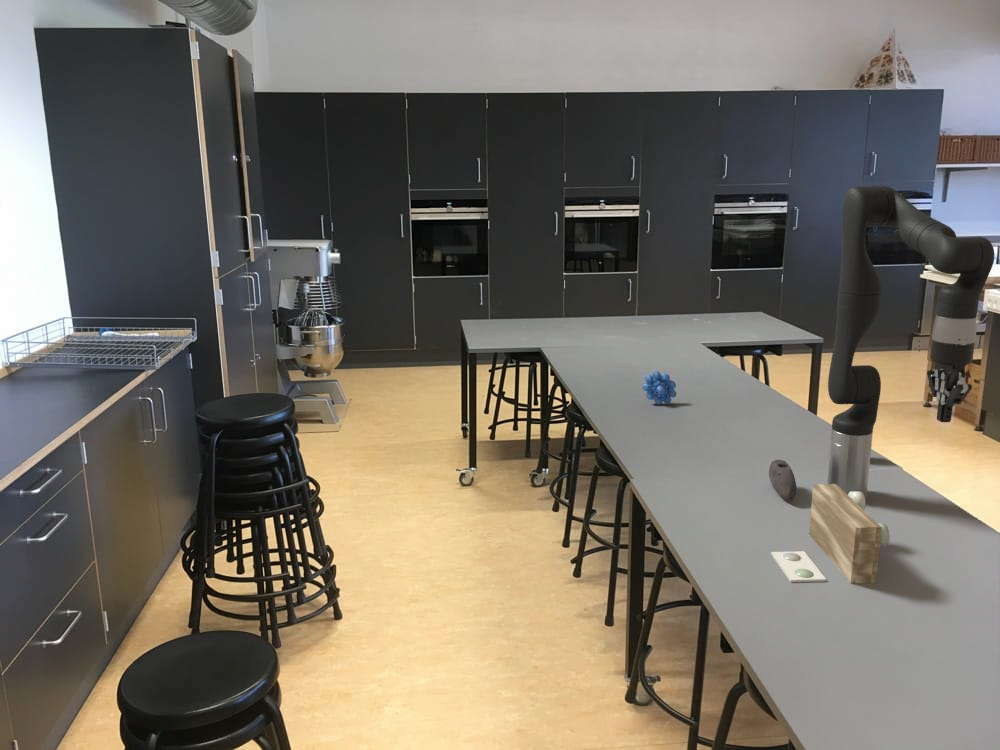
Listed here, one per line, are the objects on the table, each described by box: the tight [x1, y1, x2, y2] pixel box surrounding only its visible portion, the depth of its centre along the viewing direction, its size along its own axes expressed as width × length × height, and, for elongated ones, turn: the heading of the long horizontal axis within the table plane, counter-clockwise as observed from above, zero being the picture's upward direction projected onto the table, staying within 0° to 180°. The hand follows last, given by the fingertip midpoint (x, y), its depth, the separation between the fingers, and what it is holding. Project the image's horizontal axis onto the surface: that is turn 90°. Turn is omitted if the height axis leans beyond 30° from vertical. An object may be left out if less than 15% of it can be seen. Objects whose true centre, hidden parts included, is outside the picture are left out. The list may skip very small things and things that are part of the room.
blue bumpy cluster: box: [642, 370, 677, 406], centre depth 278 cm, size 12×7×12 cm, turn 87°
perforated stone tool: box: [768, 459, 797, 502], centre depth 202 cm, size 15×5×7 cm, turn 172°
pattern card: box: [770, 550, 827, 583], centre depth 167 cm, size 12×7×1 cm, turn 0°
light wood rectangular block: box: [808, 483, 882, 584], centre depth 169 cm, size 5×22×12 cm, turn 0°
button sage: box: [877, 522, 890, 546], centre depth 160 cm, size 6×4×4 cm
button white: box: [848, 491, 866, 511], centre depth 176 cm, size 6×4×4 cm
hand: (943, 421), depth 165 cm, fingers closed
